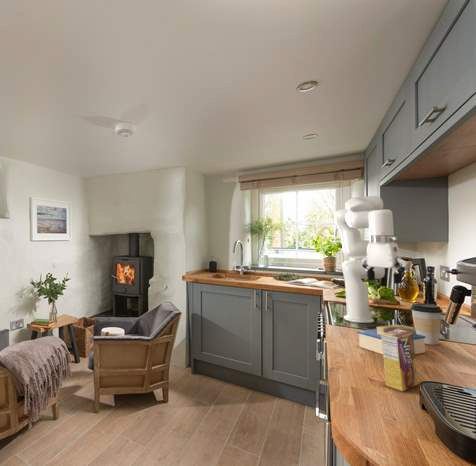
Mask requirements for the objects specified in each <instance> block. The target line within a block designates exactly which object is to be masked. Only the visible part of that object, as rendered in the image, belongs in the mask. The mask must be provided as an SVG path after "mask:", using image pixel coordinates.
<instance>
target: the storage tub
mask: <svg viewBox="0 0 476 466" xmlns="http://www.w3.org/2000/svg"><path fill="white" fill-rule="evenodd" d="M357 334H358V344H359V348H362V349H365V350H368V351H371V352H375V353H378V354H380V355H383V349H382V339H381V335H379V334H377V328H371V329H365V330H357ZM424 338H426V336H423V335H418V334H417V333H413V341H414V350H415V355H417V354H418V355H419V354H423V353H426V346H425V345H426V344H425V343H424Z"/></svg>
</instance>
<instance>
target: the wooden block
mask: <svg viewBox="0 0 476 466" xmlns="http://www.w3.org/2000/svg"><path fill="white" fill-rule="evenodd" d="M376 329H377V334H379V335H381V334H382V333H385V332H389V331H392V330H396V329H399V330H404V331H409V332H413V333H414V334H416V329H415V327H413V326H408V325H403V324H389V325H381V326H376Z"/></svg>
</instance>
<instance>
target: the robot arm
mask: <svg viewBox="0 0 476 466" xmlns="http://www.w3.org/2000/svg"><path fill="white" fill-rule="evenodd" d="M393 217H394V216H393V212H392V210H391V209H384V201H383V198H381V197H380V196H378V195H367V196H356V197H352V198H351V197H350V199H348V200H346V202H345V208H340V209H338V210H336V211H335V213H334V222H335V225H336V228H337V229H338V231H339V233H340V237H341V245H342V252H343V255H344V257H346V258H348V259H352V260H346V261H344V262H343V263H342V265H341V271H342V274H343V275H342V276H343V280H344V289H345V290H344V292H345V304H346V305H345V306H346V315H343V320H345V321H348V322H352V323H359V324H372V323H374V322H375V319H374V318H372V317H374V316H375V317H376V315H377V314H376V312H375V311H370V298H369V287H368V285H367V284H366V283H365V282H364V281H363V279H365V280H367V281H375V280H378V279H383V278H384V277H385V274H386V269H391V270H392V271H393V272H394V273H393V275H392V276H393V284H395V285H396V284H399V285H400V284H402V282H403V273H404V272H405V271H407V269H408V267H409V265H410V262H409V261H407V260H405V259H402V257H401V252H400V249H399V245H398V243H397V242H395V241H397V240H398V237H397V236H395V235H394V234H395V233H394V218H393ZM359 229H361V230H362V229H368V234H369V236H368V237H369V239H367V240H365V239H364V240H363V239H362V236H361V231H360V230H359ZM353 259H355V260H353ZM356 259H358V260H356Z"/></svg>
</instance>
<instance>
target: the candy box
mask: <svg viewBox="0 0 476 466" xmlns="http://www.w3.org/2000/svg"><path fill="white" fill-rule="evenodd" d="M381 339H382V349H383V354H382V360H383V369H384V379H385V387H389V388H392V389H395V390H397V391H399V392H405V391H408V390H409V389H411V388H413V387H416V386H418V385H419V378H418V370H417V361H416V354H415V350H414V341H413V332H409V331H404V330H399V329H396V330H392V331H389V332H385V333H382V334H381Z"/></svg>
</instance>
